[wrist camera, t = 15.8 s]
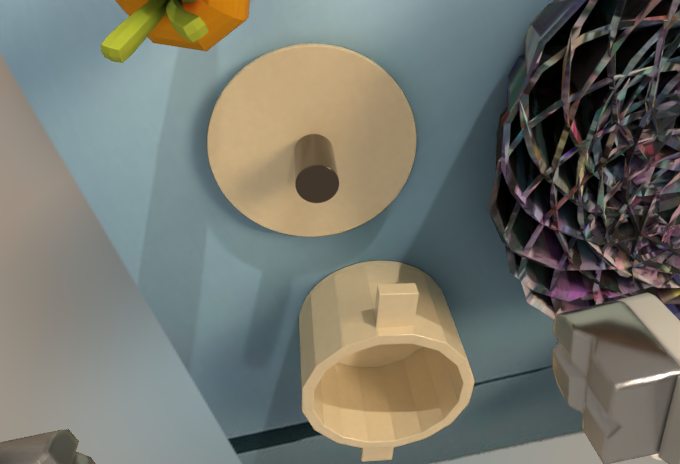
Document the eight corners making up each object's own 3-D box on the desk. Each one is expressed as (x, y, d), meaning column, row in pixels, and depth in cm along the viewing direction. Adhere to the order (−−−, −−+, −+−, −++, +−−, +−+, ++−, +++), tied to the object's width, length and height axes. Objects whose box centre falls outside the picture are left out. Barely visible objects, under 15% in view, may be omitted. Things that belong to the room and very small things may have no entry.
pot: (299, 392, 47) (301, 473, 41) (298, 230, 37) (301, 305, 31) (430, 386, 48) (452, 464, 42) (462, 228, 38) (497, 299, 32)
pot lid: (218, 229, 37) (210, 277, 32) (197, 38, 30) (184, 68, 25) (402, 226, 38) (417, 272, 34) (425, 41, 31) (448, 71, 27)
